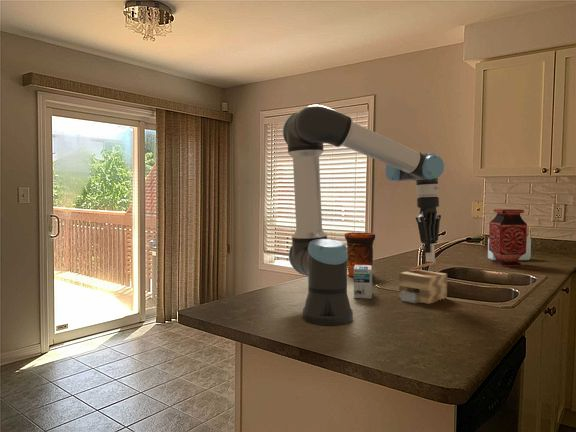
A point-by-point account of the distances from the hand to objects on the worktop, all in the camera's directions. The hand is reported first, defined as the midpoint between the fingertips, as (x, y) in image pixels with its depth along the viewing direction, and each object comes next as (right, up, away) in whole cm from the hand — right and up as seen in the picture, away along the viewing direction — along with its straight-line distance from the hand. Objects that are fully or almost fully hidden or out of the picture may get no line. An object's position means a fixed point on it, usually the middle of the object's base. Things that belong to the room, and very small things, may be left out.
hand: (430, 261), depth 155 cm
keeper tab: (-2, -2, +2) cm, 4 cm away
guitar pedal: (+78, -9, +95) cm, 123 cm away
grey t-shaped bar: (-3, -13, 0) cm, 14 cm away
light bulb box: (-24, -13, +5) cm, 28 cm away
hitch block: (-3, -13, 0) cm, 14 cm away
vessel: (-18, -12, +46) cm, 51 cm away
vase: (+66, -10, +75) cm, 100 cm away
